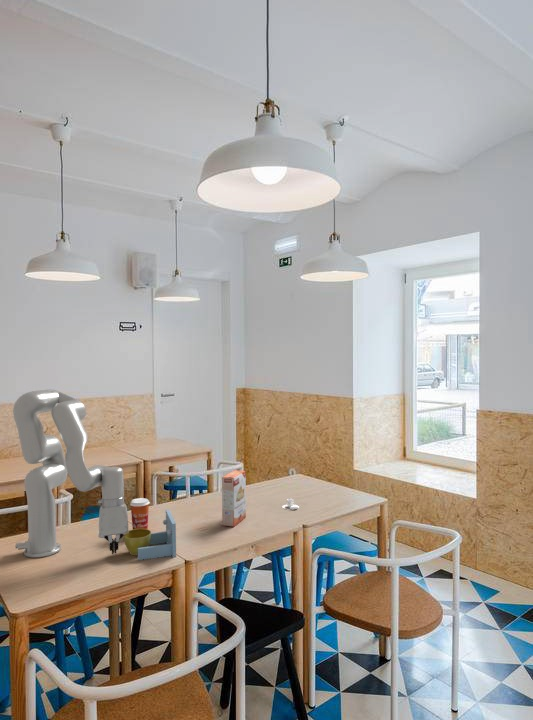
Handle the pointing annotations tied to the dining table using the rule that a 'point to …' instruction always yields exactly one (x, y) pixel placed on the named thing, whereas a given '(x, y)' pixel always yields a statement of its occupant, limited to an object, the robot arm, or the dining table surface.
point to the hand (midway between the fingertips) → (114, 552)
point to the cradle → (161, 541)
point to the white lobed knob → (290, 505)
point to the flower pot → (137, 540)
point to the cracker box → (233, 498)
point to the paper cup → (139, 513)
